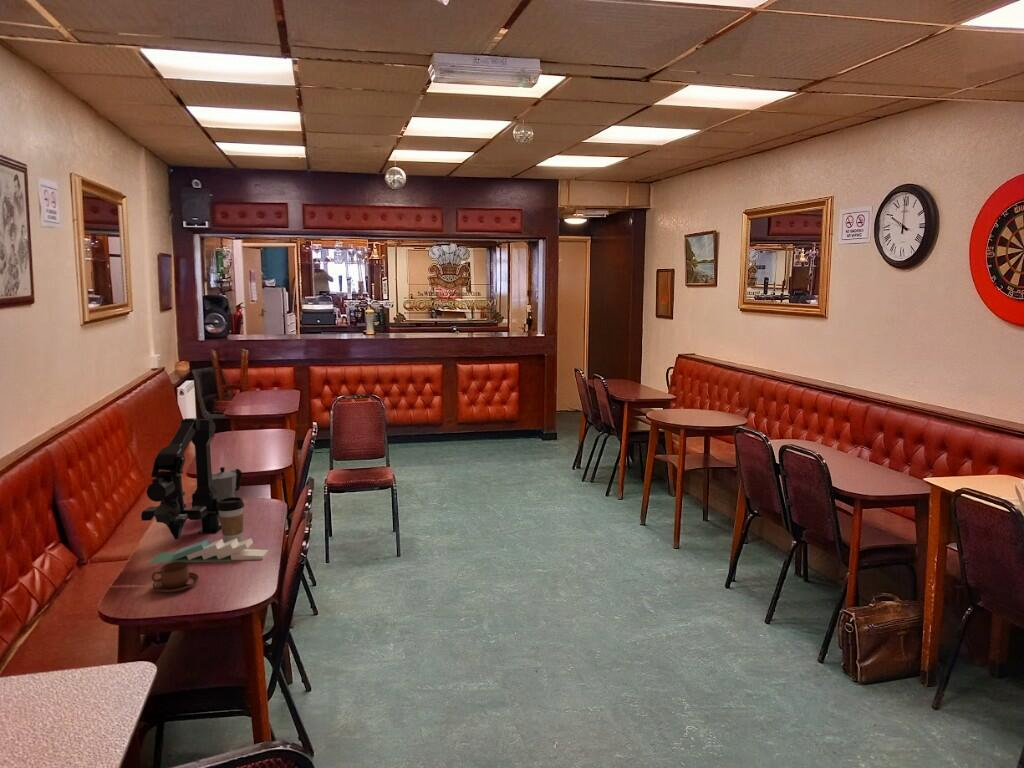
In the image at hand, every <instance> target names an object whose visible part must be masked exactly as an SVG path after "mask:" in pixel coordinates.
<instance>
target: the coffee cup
mask: <svg viewBox="0 0 1024 768" xmlns="http://www.w3.org/2000/svg"><path fill="white" fill-rule="evenodd" d="M244 507H245V503H244V502H243V498H242V497H239V496H235V497H230V498H225V499H222V500H220V501H218V506H217V510H219V525H221V529H220V530H221V534H222V538H223V539H222V540H223V542H224V543H226V542H228V541H231V540H233V539H236V538H237V540H238V542H242V541H244V517H245V516H244V513H245V512H244Z"/></svg>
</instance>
